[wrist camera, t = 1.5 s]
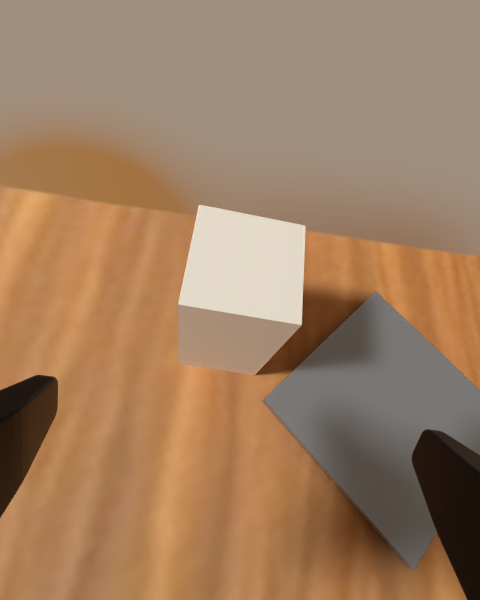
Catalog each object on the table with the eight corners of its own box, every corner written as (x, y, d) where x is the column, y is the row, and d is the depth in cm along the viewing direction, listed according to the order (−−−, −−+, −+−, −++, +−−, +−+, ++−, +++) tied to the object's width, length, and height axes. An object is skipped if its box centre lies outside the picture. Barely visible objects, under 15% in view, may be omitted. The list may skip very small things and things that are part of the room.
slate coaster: (500, 417, 24) (507, 416, 23) (407, 566, 19) (414, 569, 19) (371, 294, 26) (375, 291, 26) (262, 400, 22) (264, 399, 21)
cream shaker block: (254, 375, 22) (301, 325, 14) (178, 363, 22) (178, 304, 13) (261, 306, 25) (305, 225, 16) (191, 293, 24) (199, 204, 16)
